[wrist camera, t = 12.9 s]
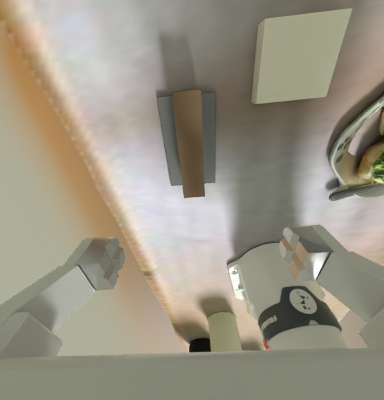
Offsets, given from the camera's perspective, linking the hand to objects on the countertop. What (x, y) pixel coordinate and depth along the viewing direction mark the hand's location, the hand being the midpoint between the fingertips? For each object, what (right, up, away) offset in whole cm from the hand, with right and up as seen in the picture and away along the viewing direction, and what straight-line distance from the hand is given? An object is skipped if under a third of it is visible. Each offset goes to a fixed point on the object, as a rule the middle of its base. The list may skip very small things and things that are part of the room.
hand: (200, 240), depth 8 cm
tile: (+7, +17, +10) cm, 21 cm away
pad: (-1, +10, +15) cm, 18 cm away
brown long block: (-1, +10, +15) cm, 18 cm away
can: (+9, -37, +46) cm, 60 cm away
